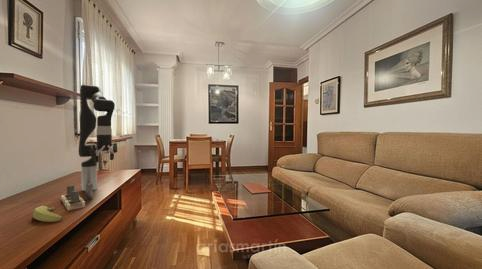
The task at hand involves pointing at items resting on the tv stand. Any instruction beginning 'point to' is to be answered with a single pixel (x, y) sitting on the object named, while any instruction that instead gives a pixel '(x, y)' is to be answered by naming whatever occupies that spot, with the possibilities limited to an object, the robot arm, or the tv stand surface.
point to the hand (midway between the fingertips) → (104, 161)
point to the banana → (46, 214)
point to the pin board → (72, 199)
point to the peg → (89, 191)
